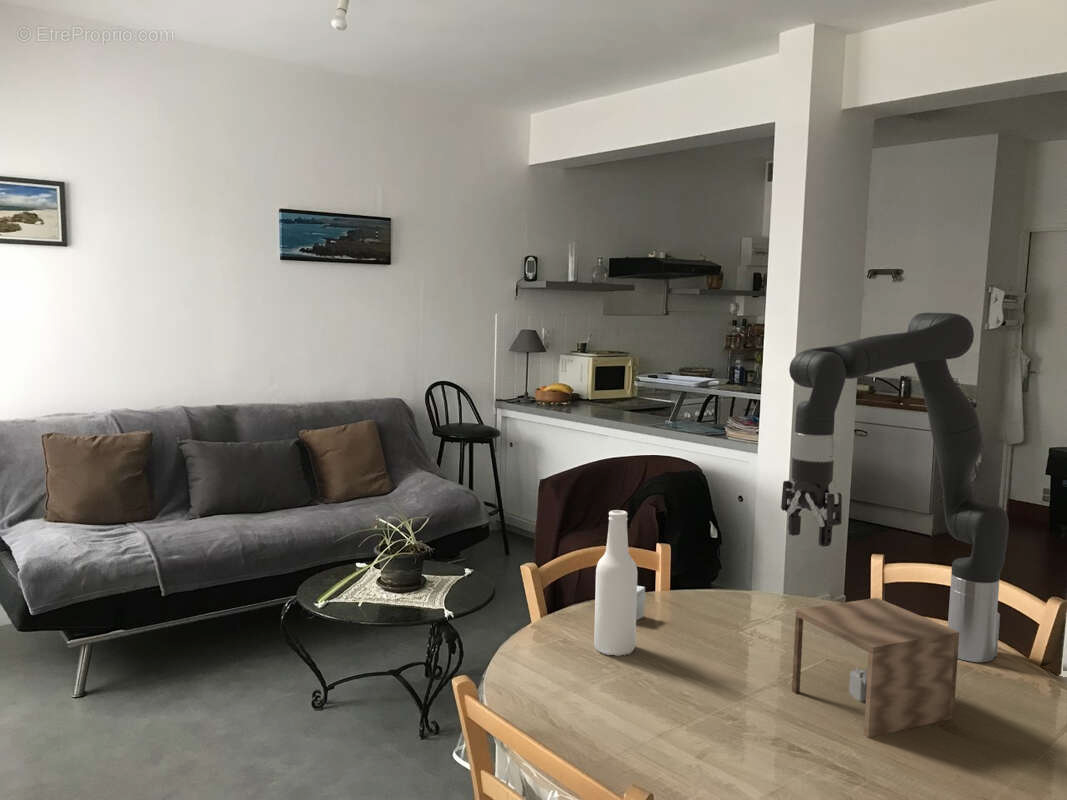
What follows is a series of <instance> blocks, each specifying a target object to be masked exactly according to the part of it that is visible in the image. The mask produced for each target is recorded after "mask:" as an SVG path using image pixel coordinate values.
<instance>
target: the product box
mask: <svg viewBox="0 0 1067 800" xmlns="http://www.w3.org/2000/svg"><path fill="white" fill-rule="evenodd" d="M645 594H646V587H645V586H643V585H642V586H641V585H637V606H636V620H638V619H640V618H641V619H643V618H644V617H645V602H646V601H645V598H646V595H645ZM643 616H644V617H643ZM642 617H643V618H642ZM641 619H640V620H641ZM638 621H639V620H638Z"/></svg>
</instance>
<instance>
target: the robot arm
mask: <svg viewBox="0 0 1067 800" xmlns="http://www.w3.org/2000/svg"><path fill="white" fill-rule="evenodd" d="M974 337H975V331H974V328H973V324H972V322H971V321H970V320H969V319H968V318H967V317H965V316H964V315H961V314H959V313H952V312H921V313H917V314H916V315H914V316H913V318H911V320H910V321H909V324H908V327H907V331H906V332H898V333H891V334H890V333H889V334H881V335H874V336H868V337H864V338H860V339H857V340H856V339H855V340H853V341H849V342H845V343H842V344H837V345H830V346H822V347H814V348H810V349H805V350H803V351H802V350H801V352H799V353H797V354H796V355H795V356H794V357H793V358H792V359H791V362H790V363H789V368H788V369H789V376H790V378H791V379H792V381H793V382H794V383H795V384H797V385H798V386H801V387H802V388H803V387H804V388H810V389H812V390H811V393H810V396H809V399H808V400H804V401H801V402H799V403H798V404H797V406H796V410H795V422H794V423H795V424H794V425H795V426H794V427H795V428H794V436H793V442H792V457H791V459H792V460H791V480H784V481H783V483H782V493H781V505H780V509H781V510H782V511H783V512H786V515H787V516H788V523H787V524H788V525H787V526H788V527H787V529H788V534H789V536H799V535H800V534H801V526H802V525H801V523H802V516H800V515H801V514H802V512H803V511H804V510H805V509H807V510H808V511H810V512H812V514H813V516H815V517H816V519H817V521H818V523H819V525H820V526H819V529H818V530H819V531H818V546H820V547H822V548H823V547H829V546H830V545H831V544H832V539H833V538H832V536H833V528H834V526H840V525H842V517H843V516H842V511H843V510H842V509H843V508H842V505H843V503H842V502H843V500H842V499H843V496H842V493H841V492H830V488H829V486H830V484H831V483H832V482H833V481H834V464H835V462H834V461H835V439H834V438H835V436H834V435H835V434H834V433H835V413H836V410H837V407H838V405H839V402H840V398H841V395H842V392H843V389H844V386H845V382H846V379H847V380H852V379H853V380H854V379H859V378H861V377H865V376H869V375H873V374H875V373H876V374H877V373H878V372H883V371H887V370H890V369H893V368H896V367H897V368H898V367H902V366H907V365H910V364H913V365H914V368H915V370H916V374H917V377H918V380H919V382H920V386H921V390H922V395H923V399H924V402H925V406H926V411H927V416H928V421H929V429H930V433H931V436H932V437H931V438H932V442H933V446H934V451H935V454H936V460H937V464H938V465H937V466H938V469H939V471H938V472H939V475H940V481H941V489H942V501H943V510H944V521H945V525H946V528H947V530H948V533H949V534H950V536H951V537H953V538H954V539H955V540H958V541H960V542H962V543H966V544H969V545H972V548H971V553H970V554H971V555H970V556H969V557H959V558H956V559H954V560H953V561H952V565H951V574H950V575H951V576H950V589H949V592H950V593H949V601H948V602H949V606H948V615H947V616H948V618H947V619H948V621H947V627H949V628H951V629H953V630H956V631H958V632H959V647H958V659H959V660H962V661H968V662H972V663H988V662H991V661H993V660H994V658H995V657H998V646H999V632H1000V619H1001V618H1000V617H1001V614H1000V613H999V612H998V607H999V606H998V604H999V593H1000V590H999V589H1000V576H1001V572H1002V570H1003V568H1004V566H1005V561H1006V554H1007V546H1008V538H1009V530H1010V529H1009V528H1010V527H1009V526H1010V524H1009V517H1008V514H1007V512H1006V511H1005V509H1003V508H1002V507H1000V506H998V505H995V504H990V503H987V502H982V501H979V500H977V499H976V498H975V496H974V492H973V487H972V479H971V478H972V472H973V470H974V468H975V465H976V463H978V462H977V461H978V460H979V457H980V455H981V452H982V449H983V436H982V429H981V425H980V419H979V416H978V412H977V411H976V409H975V407H974V406H973V404H972V402H971V401H970V400H969V398H968V396H966V394H965V393H964V391H963V390H962V389H961V388H960V387H959V385H958V384H957V382H956V381H955V379H954V378H953V376H952V374H951V372H950V369H949V366H948V363H947V362H948V361H947V360H954V359H958V358H960V357H962V356H965V354H966V353H968V351H969V350H971V348H972V345H973V342H974ZM788 501H789V502H788Z"/></svg>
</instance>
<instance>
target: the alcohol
mask: <svg viewBox="0 0 1067 800" xmlns="http://www.w3.org/2000/svg"><path fill="white" fill-rule="evenodd" d="M628 514H629V513H628V512H627V511H625V510H621V509H620V510H619V509H615V510H613V509H612V510H609V512H608V516H609V517H608V528H607V529H608V530H607V539H606V547H605V552H604V554H603V555H602V557H601V558H599V560H598V561H597V565H596V569H595V594H594V595H595V599H594V601H595V602H594V632H593V633H594V637H593V640H594V641H593V643H594V647H595V649H596V651H597V650H598V651H599V653H600V652H601V653H600V654H602V653H603V654H602V655H605V654H606V656H609V655H615V656H614V657H621V655H624V656H627V655H626V654H628V655H630V654H632V653H633V651H634V649H636V637H637V635H636V634H637V633H636V632H637V621H636V606H637V586H638V568H637V563H636V561H635V560H634V559H633V558H632V556H631V555H630V552H629V551H630V550H629V542H628V541H629V540H628V539H629V537H628V520H629V518H628ZM598 651H597V652H598Z"/></svg>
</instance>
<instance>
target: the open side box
mask: <svg viewBox="0 0 1067 800" xmlns="http://www.w3.org/2000/svg"><path fill="white" fill-rule="evenodd" d="M804 621H805V622H808V623H809V624H811V625H813V626H816V627H817V628H819V629H822V630H823V631H826V632H828V633H830V634H832V635H834V636H835V637H837V638H840V639H841V640H844V641H846V642H848V643H849V644H852V645H854V646H856V647H858V648H860V649H862V650H865V651H866V652H868V655H867V657H868V658H867V665H868V671H867V688H866V701H865V706H864V707H865V709H864V723H863V724H864V725H863V726H864V727H863V736H864V737H865V738H873V737H877V736H882V735H886V734H890V733H895V732H899V731H905V730H909V729H913V728H919V727H921V726H926V725H931V724H934V723H939V722H944V721H948V720H953V719H954V718H955V716H954V715H955V702H956V701H955V700H956V690H957V688H956V686H957V673H958V661H959V660H958V647H959V632H958V631H956V630H953V629H951V628H949V627H948V626H946V625H944V624H941V623H939V622H936V621H934V620H931V619H929V618H927V617H924V616H922V615H919V614H917V613H914V612H912V611H910V610H907V609H905V608H902V607H900V606H898V605H895V604H892V603H890V602H888V601H886V600H883V599H882V598H879V597H874V598H873V597H872V598H867V599H860V600H853V601H852V600H851V601H846V602H841V603H840V602H839V603H832V604H831V603H830V604H826V605H820V606H813V607H811V606H810V607H806V608H805V607H804V608H798V609H796V610H795V621H794V645H793V665H792V666H793V667H792V683H791V684H792V685H791V687H792V688H791V692H792V693H794V694H799V693H801V692H800V691H801V672H802V671H801V670H802V656H803V655H802V654H803V653H802V651H803V633H804V630H803V629H804Z"/></svg>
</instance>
